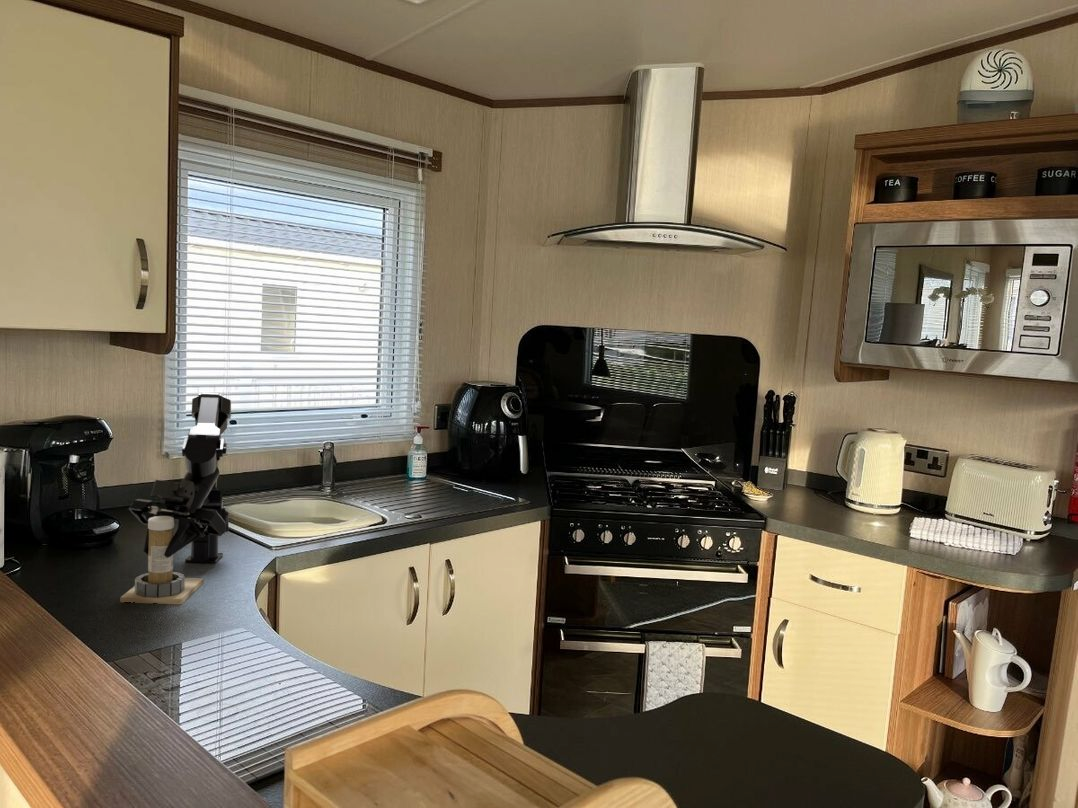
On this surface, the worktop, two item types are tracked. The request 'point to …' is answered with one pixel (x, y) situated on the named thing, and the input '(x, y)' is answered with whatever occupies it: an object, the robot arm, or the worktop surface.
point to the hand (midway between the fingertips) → (155, 554)
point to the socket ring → (159, 586)
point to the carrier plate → (190, 588)
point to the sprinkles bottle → (160, 549)
